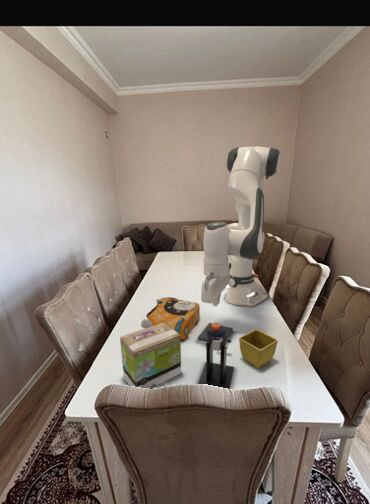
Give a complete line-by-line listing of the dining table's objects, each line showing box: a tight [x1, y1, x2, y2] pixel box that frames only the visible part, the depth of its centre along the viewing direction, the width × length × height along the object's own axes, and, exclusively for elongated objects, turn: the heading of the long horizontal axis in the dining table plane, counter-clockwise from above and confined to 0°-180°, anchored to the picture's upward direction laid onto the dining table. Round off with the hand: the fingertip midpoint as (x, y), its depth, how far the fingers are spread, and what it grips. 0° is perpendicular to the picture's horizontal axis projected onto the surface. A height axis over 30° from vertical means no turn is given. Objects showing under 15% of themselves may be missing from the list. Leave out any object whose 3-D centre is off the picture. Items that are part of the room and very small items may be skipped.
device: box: [140, 296, 201, 341], centre depth 108 cm, size 23×8×30 cm
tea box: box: [119, 322, 182, 389], centre depth 74 cm, size 15×10×15 cm, turn 126°
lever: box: [212, 337, 232, 352], centre depth 77 cm, size 15×5×2 cm, turn 162°
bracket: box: [197, 335, 235, 390], centre depth 73 cm, size 12×9×14 cm
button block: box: [197, 322, 234, 343], centre depth 96 cm, size 12×10×4 cm
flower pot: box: [238, 328, 279, 369], centre depth 80 cm, size 9×9×9 cm
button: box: [211, 322, 222, 331], centre depth 96 cm, size 4×4×2 cm
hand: (216, 304), depth 93 cm, fingers closed
